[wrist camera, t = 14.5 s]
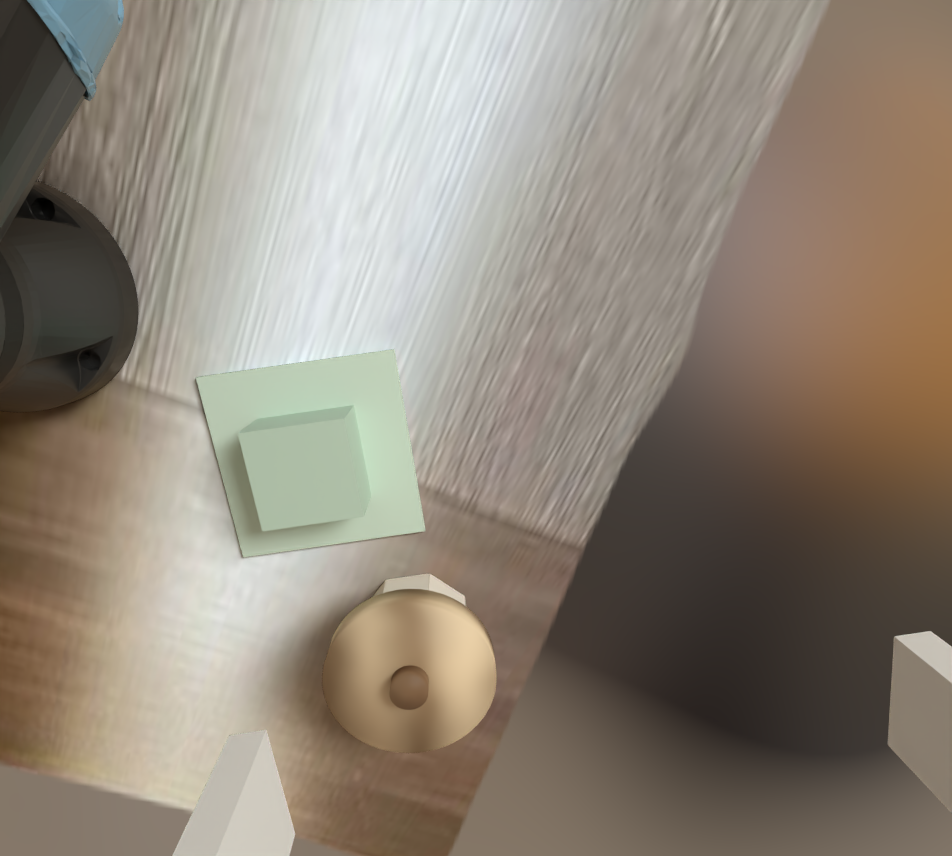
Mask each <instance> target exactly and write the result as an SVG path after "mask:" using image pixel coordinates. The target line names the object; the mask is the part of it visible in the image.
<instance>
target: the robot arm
mask: <svg viewBox="0 0 952 856" xmlns="http://www.w3.org/2000/svg"><path fill="white" fill-rule="evenodd" d="M123 18H124V8H123V3H122V0H0V411H6V412H33V411H42V410H47V409H52V408H55V407H59V406H62V405H65V404H68V403H71V402H73V401H76V400H79V399H82V398H84V397H86V396H89V395H90V394H92V393H94V392H96V391H97V390H99V389H100V388H102V387H103V386H104V385H105V384H107V383H108V382H109V381H110V380H111V379H112V378H113V377H114V376H115V375H116V374H117V373H118V371H119V370H120V369H121V367H122V366H123V364H124V363H125V361H126V359H127V357H128V355H129V353H130V351H131V349H132V346H133V343H134V340H135V336H136V331H137V325H138V299H137V293H136V287H135V283H134V280H133V276H132V273H131V270H130V268H129V265H128V263H127V261H126V259H125V257H124V255H123V253H122V251H121V249H120V248H119V246H118V244H117V243H116V241H115V240H114V238H113V237H112V236H111V234H110V233H109V232H108V230H107V229H106V228H105V227H104V226H103V224H102V223H101V222H100V221H99V220H98V219H97V218H96V217H95V216H94V215H93V214H92V213H90V212H89V211H88V210H87V209H86V208H85V207H83V206H82V205H81V204H80V203H78V202H77V201H75V200H74V199H72V198H71V197H69V196H68V195H66V194H64V193H62V192H60V191H59V190H57V189H55V188H52V187H50V186H48V185H46V184H43V183H40V182H37V181H36V180H37V178H38V177H39V175H40V173H41V172H42V170H43V168H44V166H45V165H46V163H47V161H48V160H49V158H50V156H51V154H52V153H53V151H54V149H55V148H56V146H57V144H58V142H59V141H60V139H61V137H62V136H63V134H64V132H65V130H66V129H67V127H68V125H69V124H70V122H71V120H72V118H73V117H74V115H75V113H76V112H77V110H78V108H79V107H80V105H81V103H82V101H83V100H84V99H86V100H89V101H90V100H91V99H92V98H93V97H94V95H95V92H96V83H95V79H96V77H97V76H98V74H99V72H100V70H101V68H102V66H103V64H104V62H105V60H106V58H107V56H108V54H109V52H110V50H111V48H112V46H113V44H114V42H115V40H116V38H117V36H118V34H119V32H120V30H121V28H122V23H123ZM888 746H890V748H891V749H892V750H893V751H894V752H895V753H896V754H897V755H898V756H899V757H900V758H901V759H902V761H903V762H904V763H905V764H906V765H907V766H908V767H909V768H910V769H911V770H912V771H913V772H914V773H915V774H916V776H917V777H918V778H919V779H921V781H922V782H923V783H924V784H925V785H926V786H927V787H928V788H929V789H930V790H931V792H932V793H933V794H934V795H935V796H936V797H937V798H938V799H939V800H940V801H941V802H942V803H943V804H944V805H945V806H946V808H947V809H948V810H949V811H950V812H951V813H952V647H951V646H950V645H948V644H947V643H946V642H944V641H943V640H942V639H940V638H939V637H938V636H936V635H935V634H933V633H932V632H931V631H928V632H922V633H915V634H908V635H902V636H895V637H894V650H893V666H892V683H891V699H890V717H889V733H888ZM294 836H295V832H294V828H293V825H292V821H291V817H290V814H289V810H288V806H287V803H286V799H285V796H284V792H283V788H282V785H281V781H280V777H279V774H278V770H277V767H276V763H275V759H274V756H273V752H272V748H271V745H270V741H269V738H268V734H267V730H261V731H254V732H248V733H241V734H234V735H229V737H228V739H227V741H226V743H225V745H224V747H223V749H222V752H221V754H220V756H219V758H218V760H217V762H216V764H215V766H214V768H213V771H212V773H211V775H210V777H209V779H208V781H207V783H206V785H205V788H204V790H203V792H202V794H201V796H200V798H199V800H198V802H197V804H196V807H195V809H194V811H193V813H192V815H191V817H190V819H189V821H188V824H187V826H186V828H185V830H184V832H183V834H182V836H181V838H180V840H179V843H178V845H177V847H176V849H175V851H174V853H173V855H172V856H289V855H290V851H291V847H292V844H293V840H294Z"/></svg>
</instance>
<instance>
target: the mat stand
mask: <svg viewBox="0 0 952 856" xmlns="http://www.w3.org/2000/svg"><path fill="white" fill-rule="evenodd" d="M196 381H197V384H198V388H199V392H200V396H201V400H202V403H203V407H204V411H205V415H206V418H207V422H208V426H209V430H210V434H211V437H212V441H213V445H214V449H215V453H216V456H217V460H218V464H219V468H220V471H221V475H222V479H223V483H224V487H225V490H226V494H227V498H228V502H229V506H230V509H231V513H232V517H233V521H234V525H235V528H236V532H237V536H238V540H239V543H240V547H241V551H242V555H243V557H250V556H257V555H264V554H271V553H278V552H285V551H292V550H299V549H305V548H312V547H319V546H326V545H333V544H340V543H347V542H354V541H361V540H368V539H374V538H381V537H388V536H395V535H402V534H409V533H416V532H423V531H425V524H424V519H423V513H422V507H421V501H420V495H419V489H418V484H417V478H416V472H415V466H414V460H413V454H412V449H411V443H410V437H409V431H408V425H407V420H406V414H405V408H404V402H403V396H402V390H401V385H400V379H399V373H398V367H397V361H396V355H395V350H394V349H392V350H385V351H378V352H371V353H364V354H357V355H350V356H342V357H335V358H328V359H321V360H314V361H307V362H300V363H293V364H286V365H279V366H272V367H265V368H258V369H251V370H243V371H236V372H229V373H222V374H215V375H208V376H201V377H197V378H196Z"/></svg>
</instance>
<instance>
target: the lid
mask: <svg viewBox="0 0 952 856" xmlns="http://www.w3.org/2000/svg"><path fill="white" fill-rule="evenodd" d="M496 679H497V678H496V666H495V658H494V650H493V646H492V642H491V639H490V636H489V634H488V632H487V630H486V628H485V626H484V625H483V623H482V622H481V621H480V619H479V618H478V617H477V616H476V615H475V614H474V613H473V612H472V611H471V610H470V609H469V608H467V607H466V606H465V605H463V604H462V603H461V602H459V601H457V600H455V599H453V598H451V597H449V596H447V595H444V594H441V593H438V592H434V591H430V590H423V589H400V590H394V591H389V592H385V593H382V594H379V595H376V596H374V597H372V598H370V599H368V600H366V601H364V602H363V603H361V604H360V605H358V606H357V607H356V608H354V609H353V610H352V611H351V612H350V613H349V614H348V615H347V616H346V617H345V618H344V619H343V620H342V622H341V623H340V625H339V626H338V628H337V629H336V631H335V633H334V635H333V637H332V640H331V643H330V647H329V650H328V653H327V656H326V659H325V663H324V666H323V673H322V686H323V692H324V696H325V699H326V703H327V705H328V707H329V709H330V711H331V713H332V714H333V716H334V717H335V719H336V720H337V721H338V723H339V724H340V725H341V726H342V727H343V728H344V729H345V730H346V731H347V732H349V733H350V734H351V735H352V736H354V737H355V738H357V739H358V740H360V741H362V742H364V743H366V744H368V745H370V746H373V747H376V748H378V749H382V750H386V751H390V752H398V753H419V752H427V751H431V750H436V749H439V748H442V747H445V746H447V745H449V744H451V743H454V742H456V741H457V740H459V739H461V738H462V737H464V736H465V735H466V734H468V733H469V732H470V731H471V730H473V729H474V728H475V727H476V726H477V725H478V724H479V722H480V721H481V720H482V718H483V717H484V716H485V714H486V713H487V711H488V709H489V707H490V705H491V703H492V700H493V698H494V693H495V689H496Z"/></svg>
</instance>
